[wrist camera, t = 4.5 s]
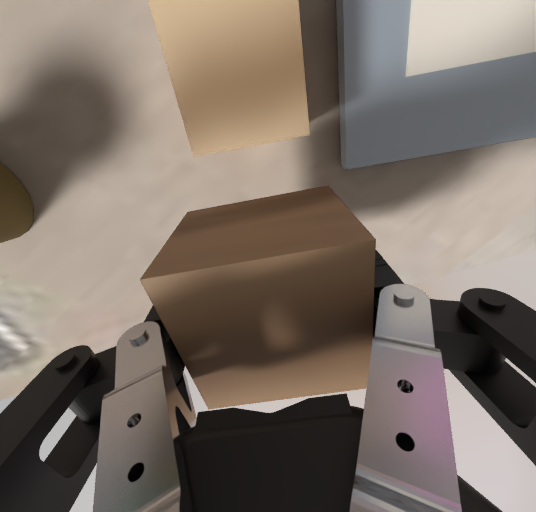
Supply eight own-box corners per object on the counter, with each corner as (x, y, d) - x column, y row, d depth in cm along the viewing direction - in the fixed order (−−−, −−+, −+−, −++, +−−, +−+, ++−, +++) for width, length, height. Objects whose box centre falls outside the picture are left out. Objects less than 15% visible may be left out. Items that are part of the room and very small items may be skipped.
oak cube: (186, 39, 13) (147, 1, 9) (284, 17, 13) (295, -34, 8) (213, 145, 15) (193, 156, 11) (296, 129, 15) (309, 134, 11)
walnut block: (187, 211, 11) (140, 279, 7) (328, 185, 11) (375, 239, 6) (224, 315, 14) (208, 409, 10) (335, 297, 13) (371, 387, 9)
